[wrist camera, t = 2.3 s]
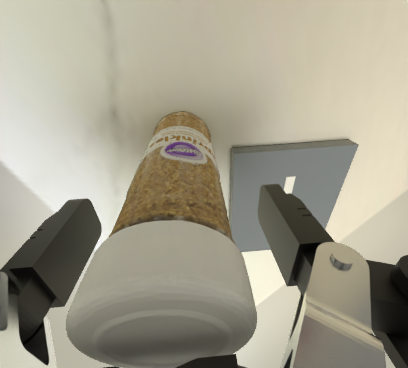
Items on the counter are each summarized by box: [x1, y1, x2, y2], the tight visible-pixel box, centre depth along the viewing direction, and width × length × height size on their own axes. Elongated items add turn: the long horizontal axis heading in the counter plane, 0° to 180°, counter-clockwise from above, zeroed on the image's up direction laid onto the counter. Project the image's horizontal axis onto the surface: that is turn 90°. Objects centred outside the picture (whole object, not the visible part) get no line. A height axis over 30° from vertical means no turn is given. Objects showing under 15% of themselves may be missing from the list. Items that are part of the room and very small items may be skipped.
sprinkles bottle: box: [66, 112, 257, 368], centre depth 10 cm, size 5×5×14 cm
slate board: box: [229, 139, 358, 252], centre depth 19 cm, size 12×10×1 cm
